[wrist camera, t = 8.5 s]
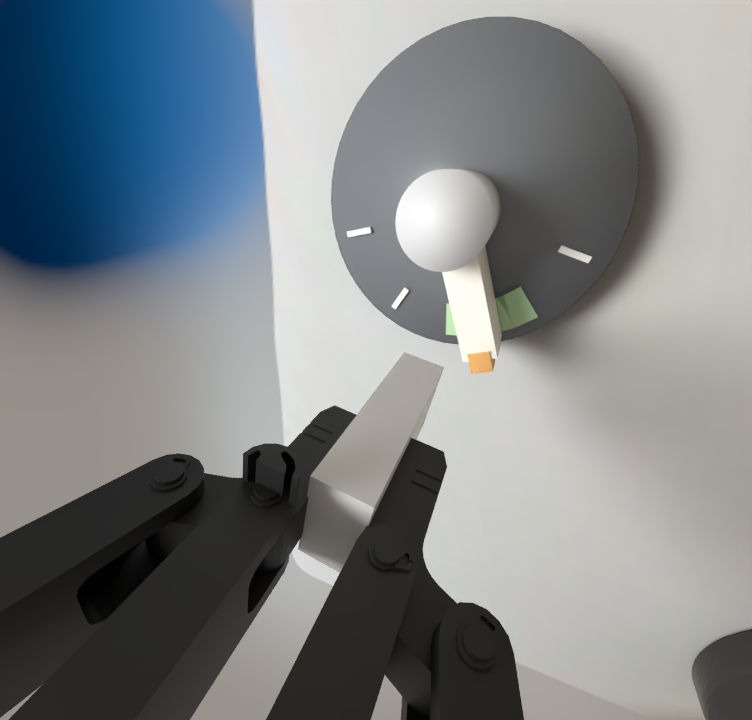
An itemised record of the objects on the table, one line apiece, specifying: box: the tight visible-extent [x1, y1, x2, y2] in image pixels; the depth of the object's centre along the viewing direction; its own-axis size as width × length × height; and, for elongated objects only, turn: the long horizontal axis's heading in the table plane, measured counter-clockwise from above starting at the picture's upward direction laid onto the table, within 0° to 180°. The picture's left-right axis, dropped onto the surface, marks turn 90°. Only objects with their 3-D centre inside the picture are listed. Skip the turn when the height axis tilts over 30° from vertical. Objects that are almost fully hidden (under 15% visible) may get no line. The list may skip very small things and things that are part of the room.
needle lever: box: [395, 169, 502, 374], centre depth 16 cm, size 9×4×4 cm, turn 18°
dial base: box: [331, 17, 638, 344], centre depth 18 cm, size 14×14×2 cm
